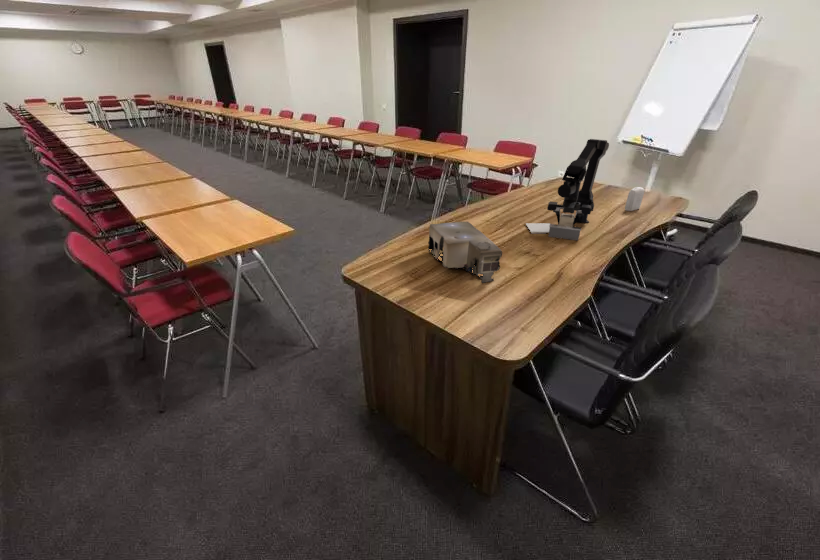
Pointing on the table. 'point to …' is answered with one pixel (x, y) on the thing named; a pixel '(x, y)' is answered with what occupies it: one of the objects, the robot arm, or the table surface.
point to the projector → (465, 248)
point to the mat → (538, 227)
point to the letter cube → (566, 219)
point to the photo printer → (634, 199)
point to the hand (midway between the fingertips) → (565, 225)
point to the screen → (564, 231)
